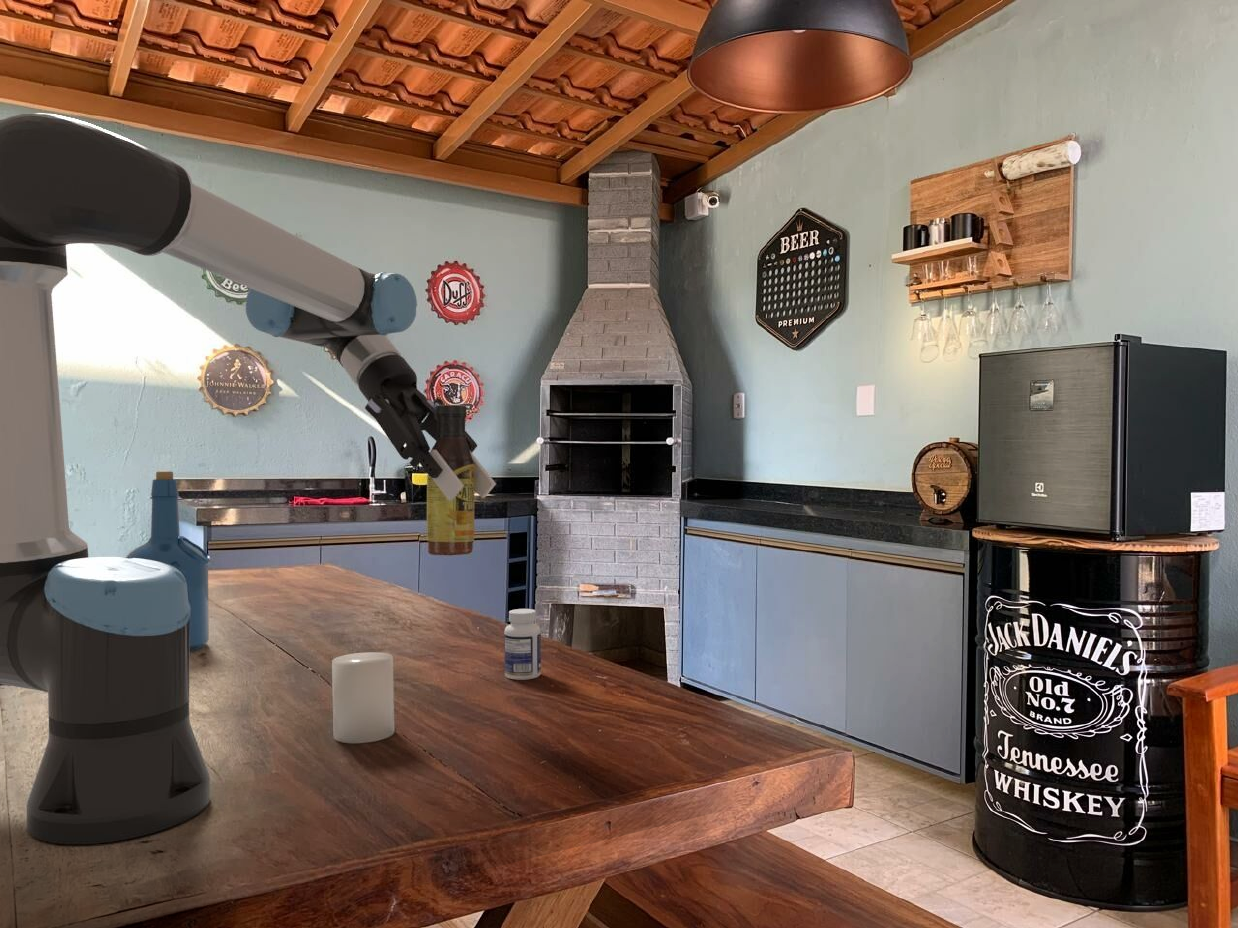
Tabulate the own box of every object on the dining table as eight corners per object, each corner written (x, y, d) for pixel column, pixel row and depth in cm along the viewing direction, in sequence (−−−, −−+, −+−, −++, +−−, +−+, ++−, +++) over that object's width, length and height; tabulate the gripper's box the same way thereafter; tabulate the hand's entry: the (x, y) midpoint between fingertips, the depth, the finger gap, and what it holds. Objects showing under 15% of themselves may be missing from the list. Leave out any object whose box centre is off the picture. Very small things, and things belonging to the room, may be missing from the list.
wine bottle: (112, 660, 149) (110, 472, 148) (132, 643, 162) (130, 470, 161) (205, 654, 153) (203, 471, 152) (217, 638, 165) (215, 469, 165)
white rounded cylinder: (402, 735, 110) (401, 660, 110) (343, 747, 106) (341, 668, 106) (383, 721, 116) (381, 649, 116) (326, 731, 112) (324, 657, 112)
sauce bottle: (464, 557, 121) (463, 404, 120) (419, 556, 122) (418, 404, 121) (481, 551, 127) (481, 405, 127) (438, 550, 128) (437, 406, 128)
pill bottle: (522, 669, 143) (522, 606, 143) (548, 675, 139) (548, 610, 139) (496, 676, 139) (496, 611, 138) (522, 682, 135) (522, 615, 135)
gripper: (412, 394, 140) (500, 507, 132) (313, 387, 123) (407, 515, 116) (439, 357, 137) (531, 470, 130) (342, 345, 121) (440, 474, 113)
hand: (472, 491), depth 123 cm, fingers closed on sauce bottle, 6 cm apart
